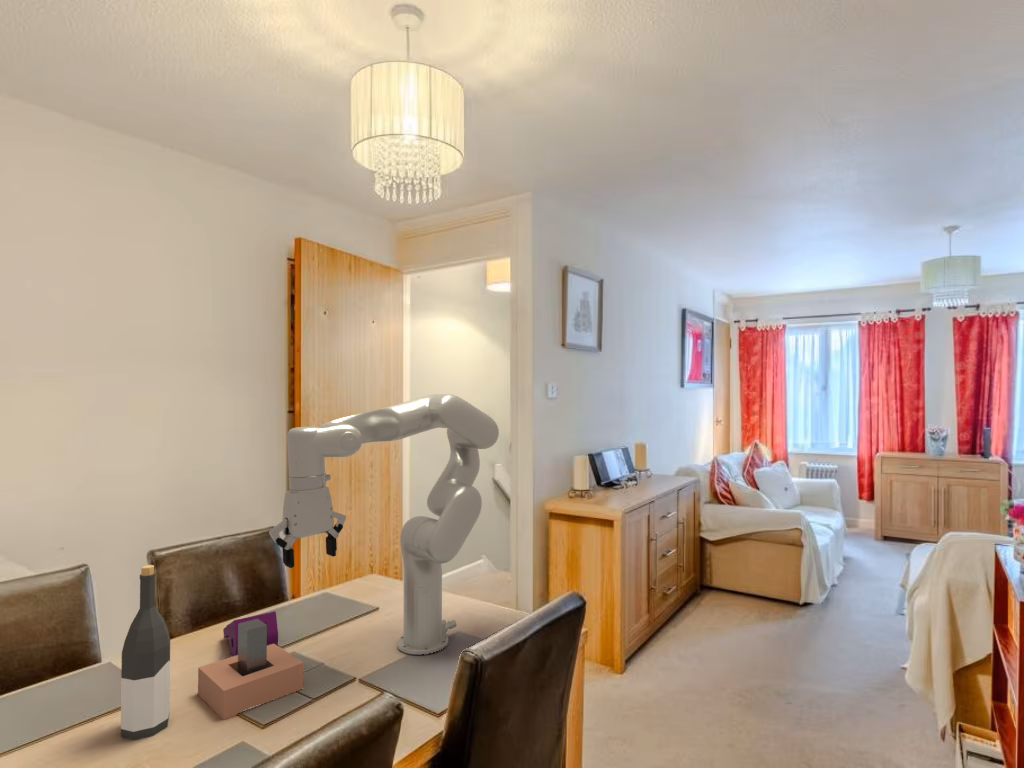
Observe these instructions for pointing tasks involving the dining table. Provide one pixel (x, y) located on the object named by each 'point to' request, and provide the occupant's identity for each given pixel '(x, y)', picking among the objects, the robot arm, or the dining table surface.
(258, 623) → the steel bar
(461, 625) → the dining table surface
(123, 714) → the wine bottle
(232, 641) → the mounting bracket
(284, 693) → the well holder
